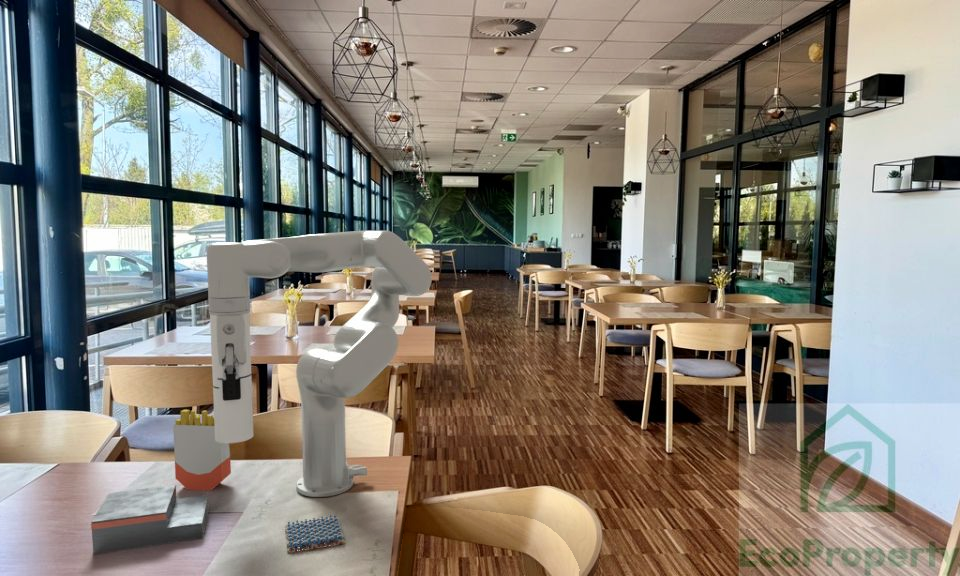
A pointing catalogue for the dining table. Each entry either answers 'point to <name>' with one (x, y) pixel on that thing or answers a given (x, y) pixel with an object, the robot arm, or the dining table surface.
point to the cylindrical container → (232, 414)
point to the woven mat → (314, 533)
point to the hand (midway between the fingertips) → (232, 393)
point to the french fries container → (199, 452)
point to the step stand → (147, 519)
